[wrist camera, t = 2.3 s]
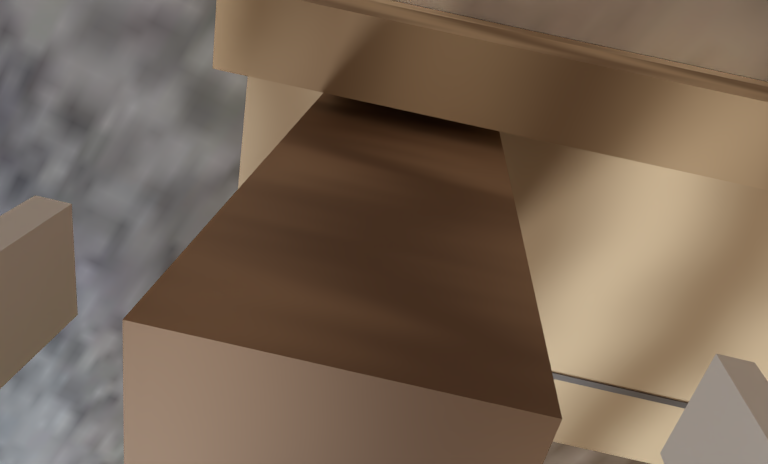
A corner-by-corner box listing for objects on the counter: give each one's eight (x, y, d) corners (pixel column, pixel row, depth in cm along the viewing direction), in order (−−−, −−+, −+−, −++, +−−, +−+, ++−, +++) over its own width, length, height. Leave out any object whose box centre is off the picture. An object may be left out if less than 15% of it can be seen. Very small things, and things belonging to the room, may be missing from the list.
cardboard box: (277, 432, 24) (127, 842, 13) (329, 85, 17) (122, 319, 7) (400, 460, 24) (352, 896, 13) (497, 122, 17) (562, 419, 7)
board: (233, 347, 24) (191, 422, 20) (268, -27, 18) (217, -18, 14) (975, 515, 23) (1074, 624, 20) (1282, 193, 17) (1513, 263, 13)
